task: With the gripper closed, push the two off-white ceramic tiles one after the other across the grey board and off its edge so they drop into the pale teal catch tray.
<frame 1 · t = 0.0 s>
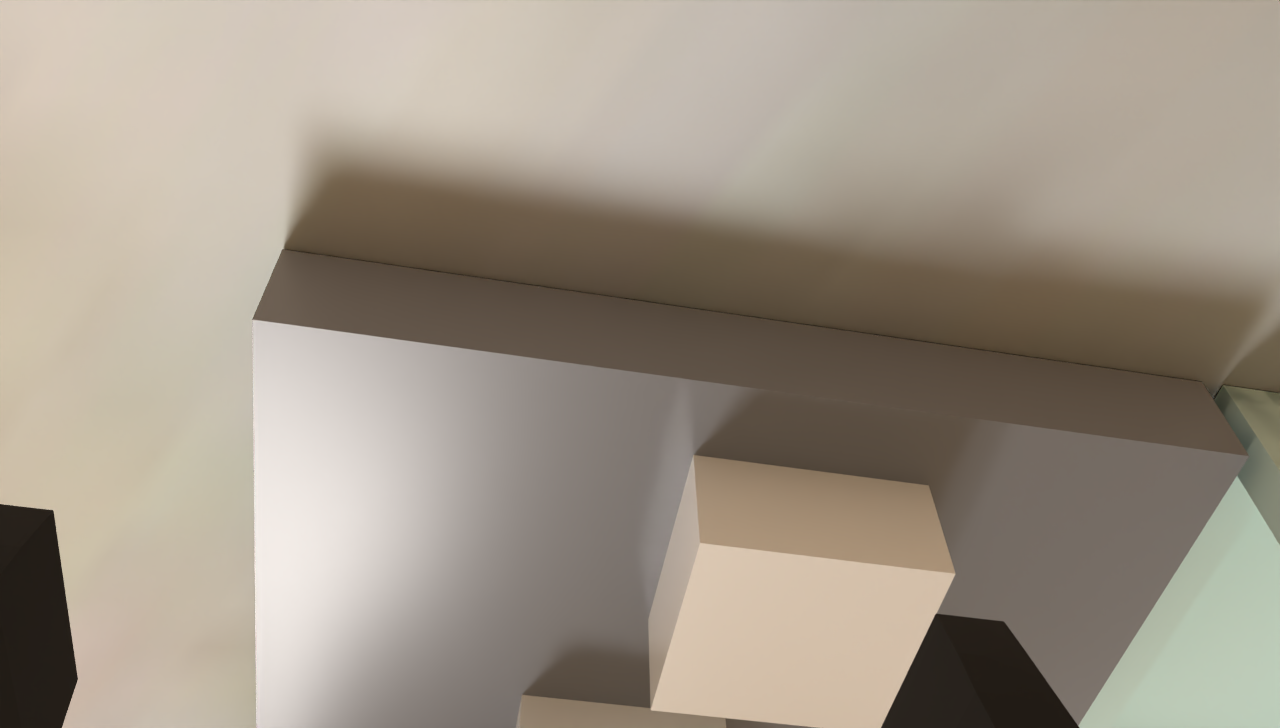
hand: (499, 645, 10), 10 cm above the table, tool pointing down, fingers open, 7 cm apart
tile b: (782, 555, 21), point 2 cm above the table, touching board
tray: (1270, 666, 26), on the table
board: (681, 598, 25), on the table
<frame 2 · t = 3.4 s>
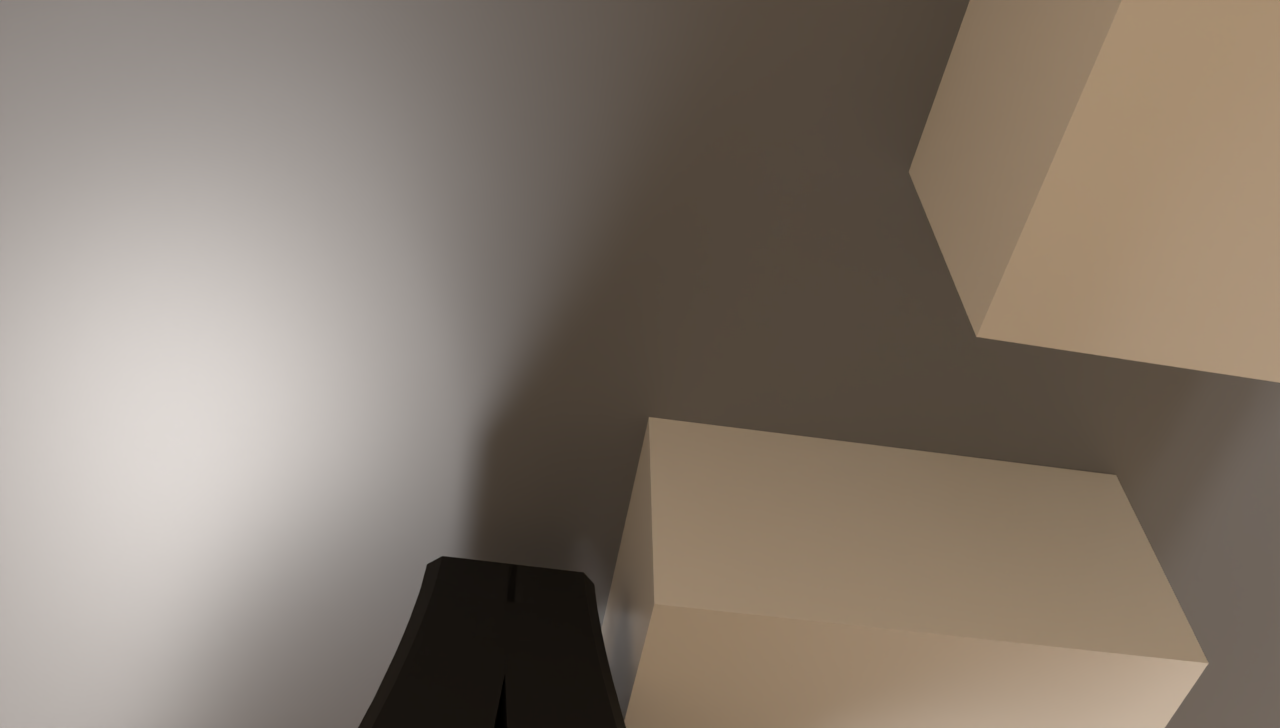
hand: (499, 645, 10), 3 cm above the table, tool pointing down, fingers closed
board: (919, 231, 11), on the table
tile a: (825, 610, 11), point 2 cm above the table, touching gripper
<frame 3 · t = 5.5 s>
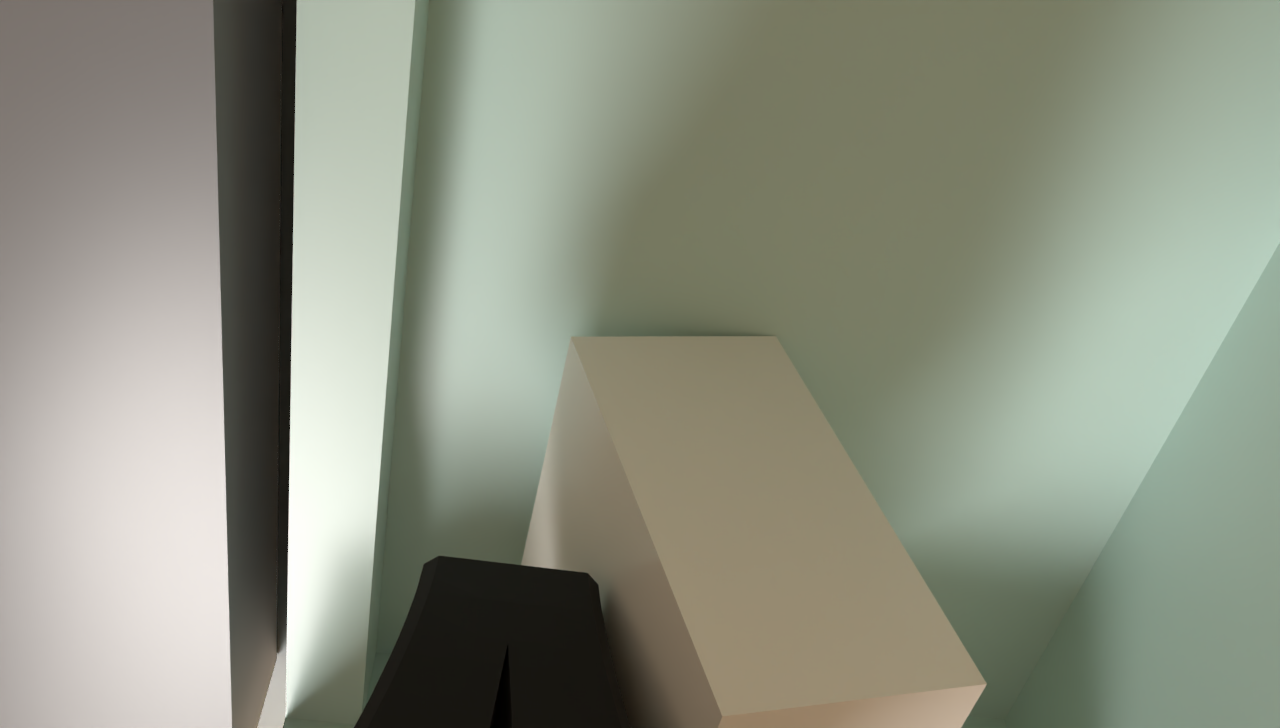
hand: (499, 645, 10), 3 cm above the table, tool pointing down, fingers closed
tray: (840, 218, 11), on the table
tile a: (585, 666, 10), point 3 cm above the table, tilted 106°, touching tray
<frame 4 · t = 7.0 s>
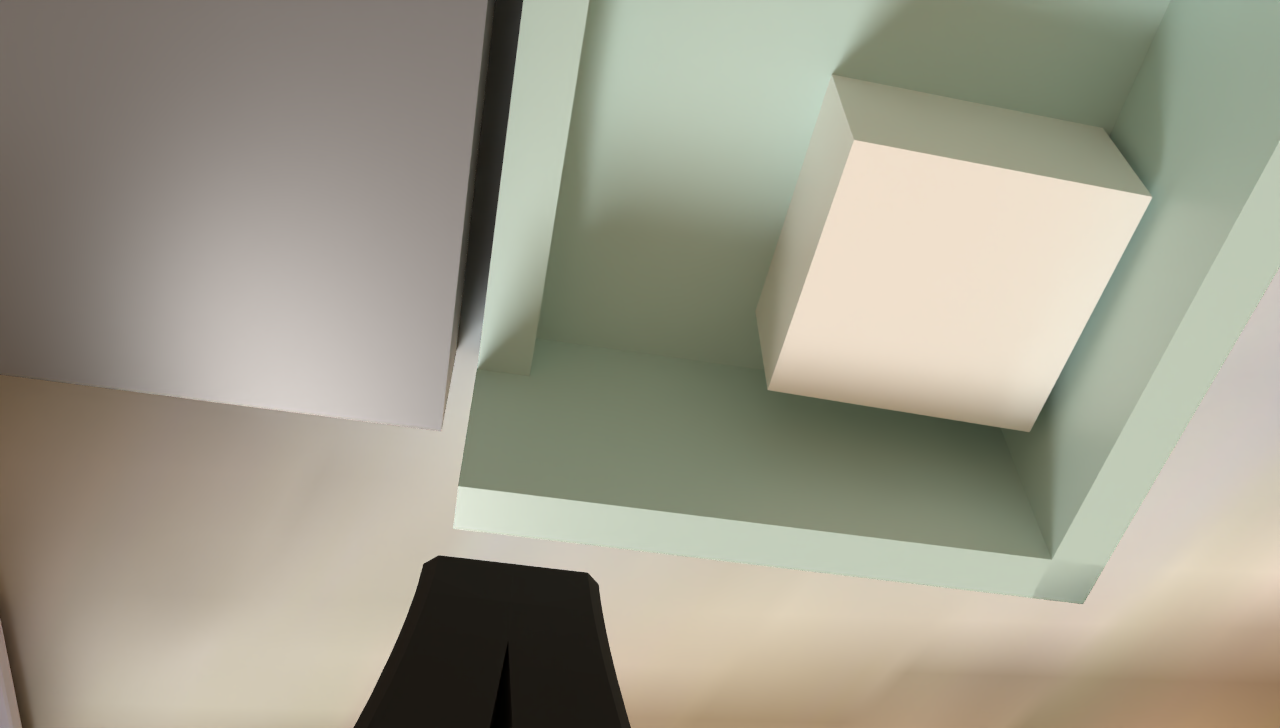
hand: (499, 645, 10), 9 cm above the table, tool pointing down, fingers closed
tile a: (949, 298, 16), point 2 cm above the table, tilted 180°, touching tray
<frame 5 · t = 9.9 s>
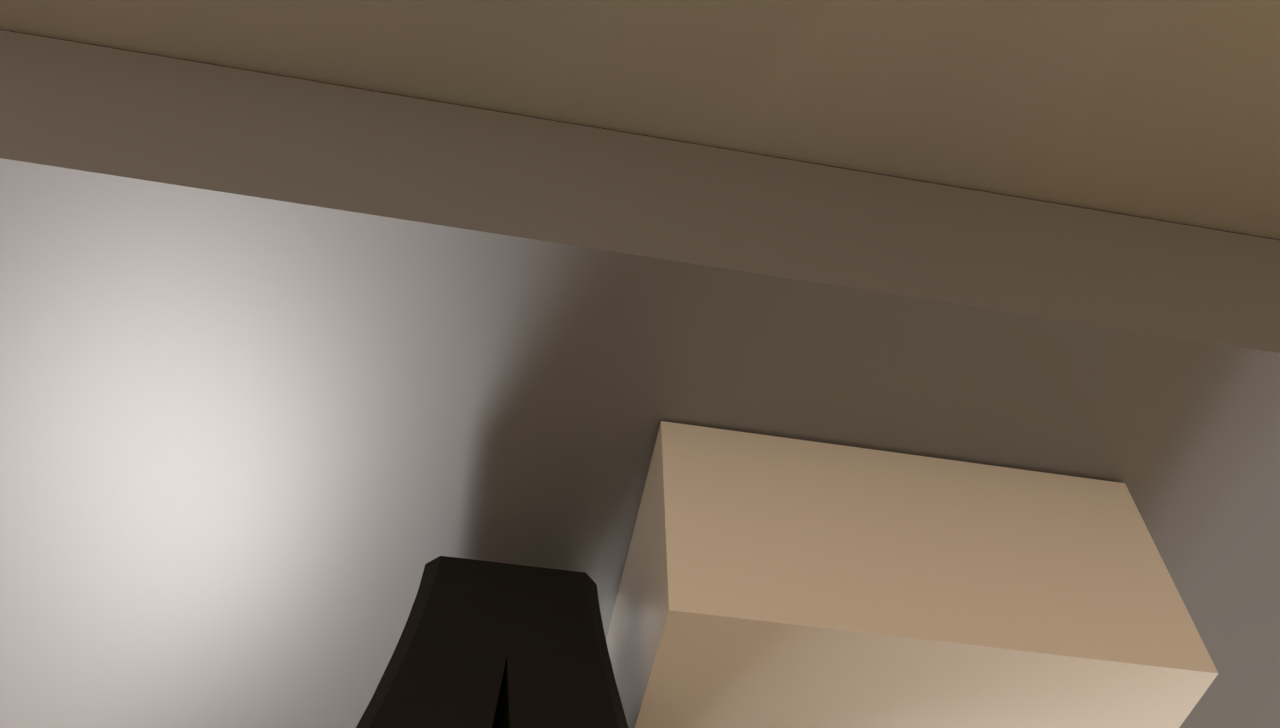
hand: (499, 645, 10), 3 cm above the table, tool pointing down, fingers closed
tile b: (832, 614, 11), point 2 cm above the table, touching gripper
board: (545, 660, 15), on the table
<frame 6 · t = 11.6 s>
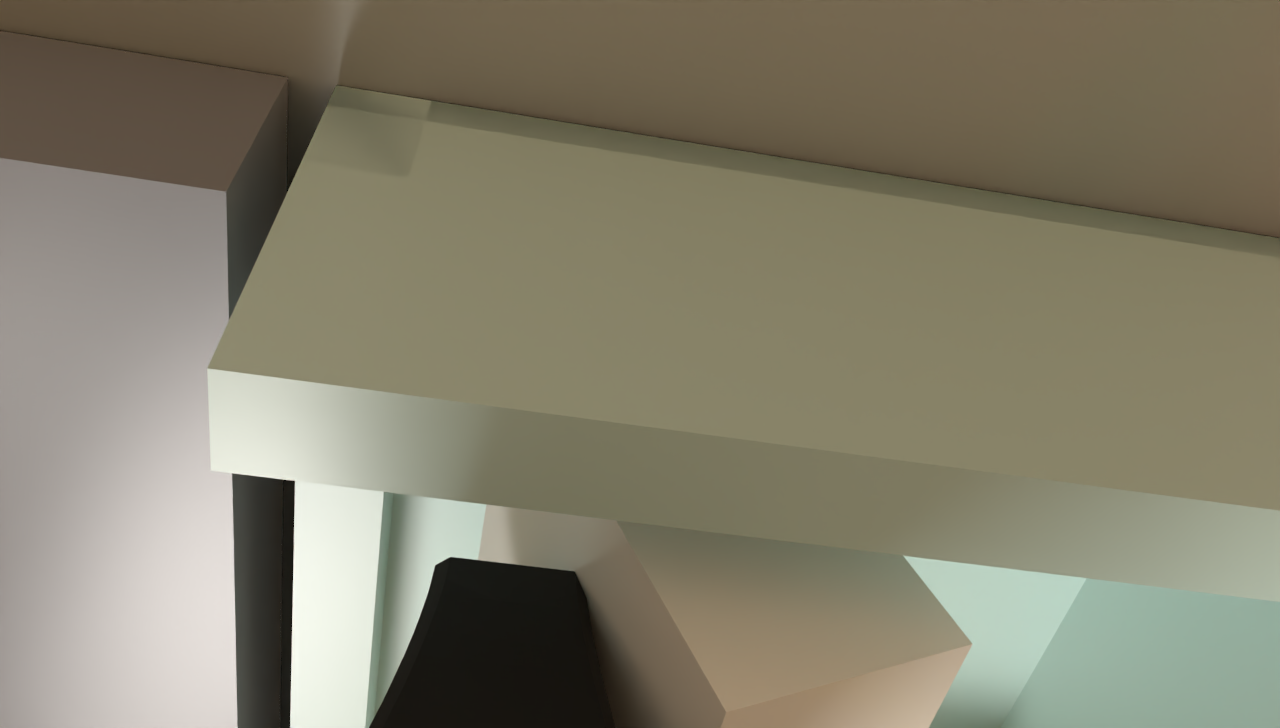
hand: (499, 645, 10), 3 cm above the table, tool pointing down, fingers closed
tile b: (562, 670, 10), point 3 cm above the table, tilted 114°, touching gripper, tray
tray: (696, 674, 15), on the table
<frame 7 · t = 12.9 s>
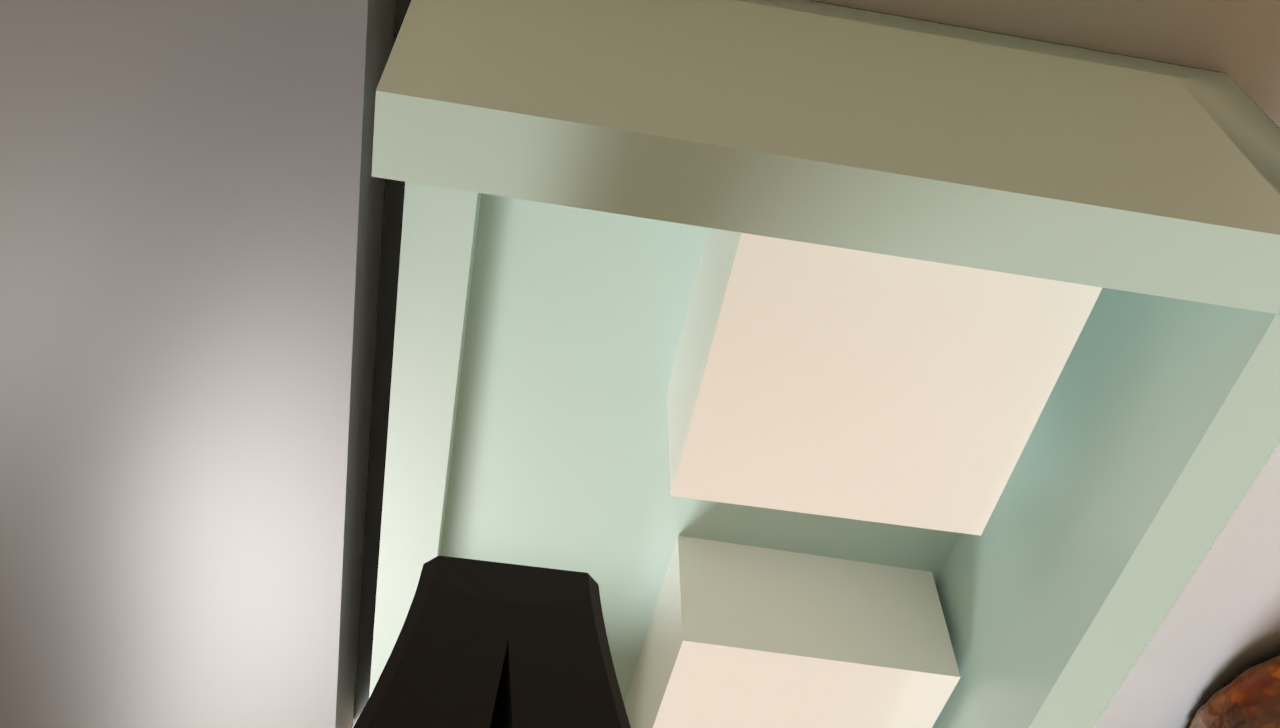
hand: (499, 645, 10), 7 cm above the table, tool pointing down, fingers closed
tile b: (875, 391, 14), point 2 cm above the table, tilted 180°, touching tray
tray: (714, 465, 18), on the table
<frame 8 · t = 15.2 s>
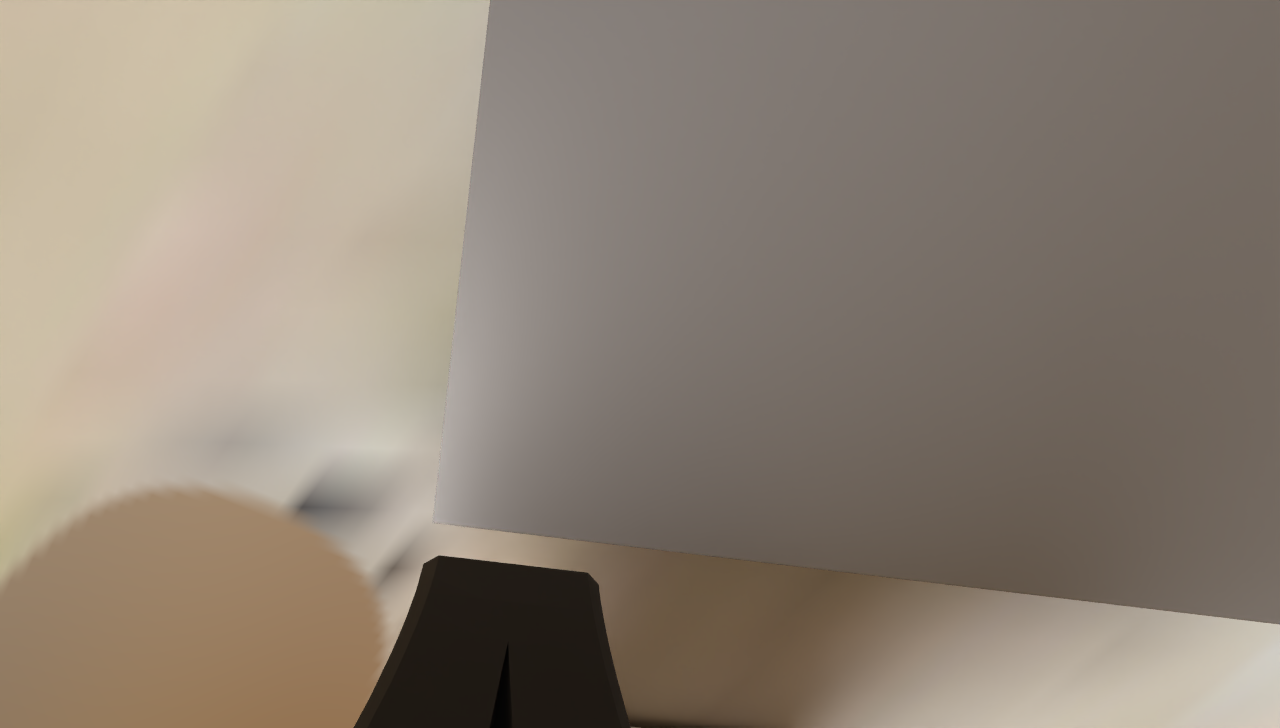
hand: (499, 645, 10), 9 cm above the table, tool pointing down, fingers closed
board: (1027, 156, 18), on the table
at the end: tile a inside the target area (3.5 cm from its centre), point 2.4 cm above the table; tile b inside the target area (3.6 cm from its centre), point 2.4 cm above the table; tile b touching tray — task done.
